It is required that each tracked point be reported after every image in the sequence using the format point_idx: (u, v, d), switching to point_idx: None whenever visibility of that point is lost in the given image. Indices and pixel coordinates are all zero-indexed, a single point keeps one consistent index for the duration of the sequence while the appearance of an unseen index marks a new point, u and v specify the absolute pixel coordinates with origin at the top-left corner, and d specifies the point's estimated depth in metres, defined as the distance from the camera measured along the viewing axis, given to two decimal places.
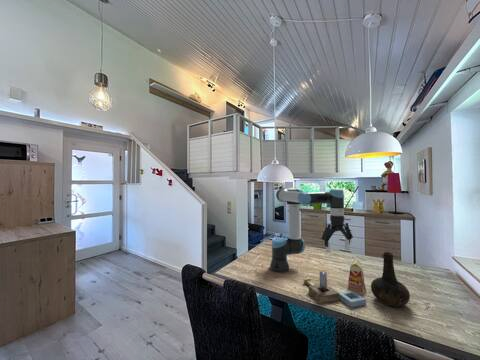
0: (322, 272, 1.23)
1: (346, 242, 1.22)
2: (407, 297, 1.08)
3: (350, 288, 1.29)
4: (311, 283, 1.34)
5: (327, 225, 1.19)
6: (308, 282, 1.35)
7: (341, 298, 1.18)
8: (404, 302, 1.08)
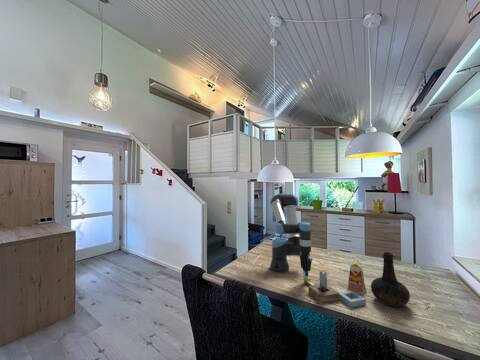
0: (322, 272, 1.23)
1: None
2: (407, 297, 1.08)
3: (350, 288, 1.29)
4: (311, 283, 1.34)
5: None
6: (308, 282, 1.35)
7: (341, 298, 1.18)
8: (404, 302, 1.08)
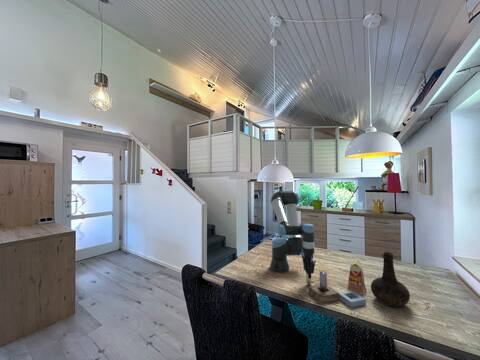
0: (322, 272, 1.23)
1: None
2: (407, 297, 1.08)
3: (350, 288, 1.29)
4: None
5: None
6: (311, 284, 1.32)
7: (341, 298, 1.18)
8: (404, 302, 1.08)
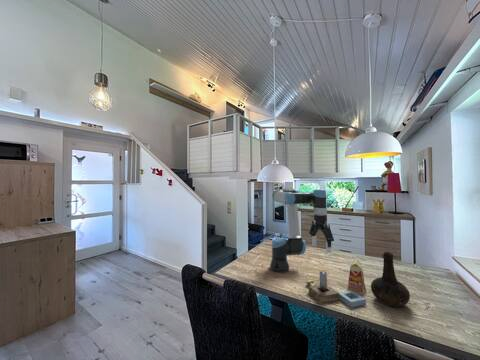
0: (322, 272, 1.23)
1: None
2: (407, 297, 1.08)
3: (350, 288, 1.29)
4: None
5: None
6: (311, 284, 1.32)
7: (341, 298, 1.18)
8: (404, 302, 1.08)
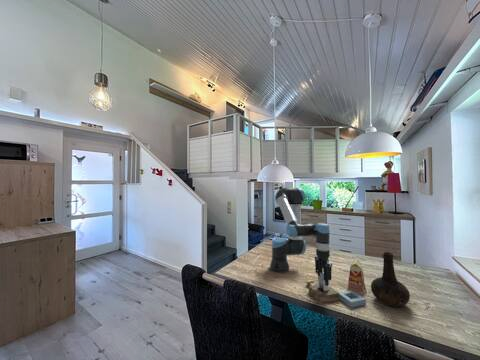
0: (322, 272, 1.23)
1: None
2: (407, 297, 1.08)
3: (350, 288, 1.29)
4: None
5: None
6: (311, 284, 1.32)
7: (341, 298, 1.18)
8: (404, 302, 1.08)
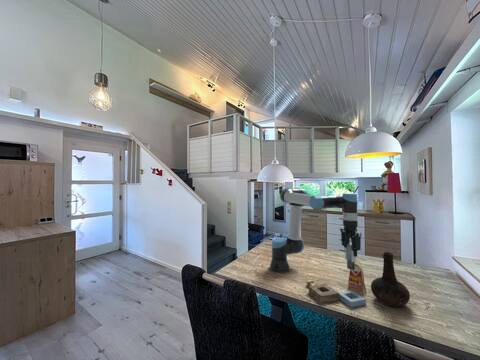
0: (349, 243, 1.18)
1: None
2: (407, 297, 1.08)
3: (350, 288, 1.29)
4: None
5: None
6: (311, 284, 1.32)
7: (341, 298, 1.18)
8: (404, 302, 1.08)
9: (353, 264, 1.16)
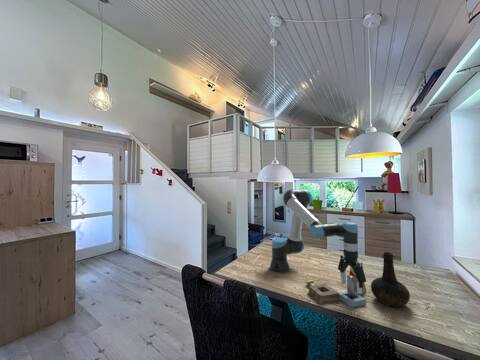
0: (350, 276, 1.18)
1: None
2: (407, 297, 1.08)
3: None
4: None
5: None
6: (311, 284, 1.32)
7: (341, 298, 1.18)
8: (404, 302, 1.08)
9: (353, 297, 1.16)
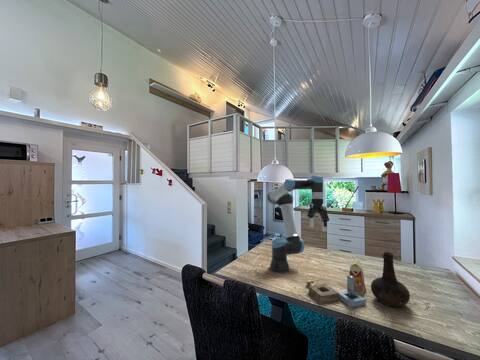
0: (350, 276, 1.18)
1: None
2: (407, 297, 1.08)
3: None
4: None
5: None
6: (311, 284, 1.32)
7: (341, 298, 1.18)
8: (404, 302, 1.08)
9: (353, 297, 1.16)
